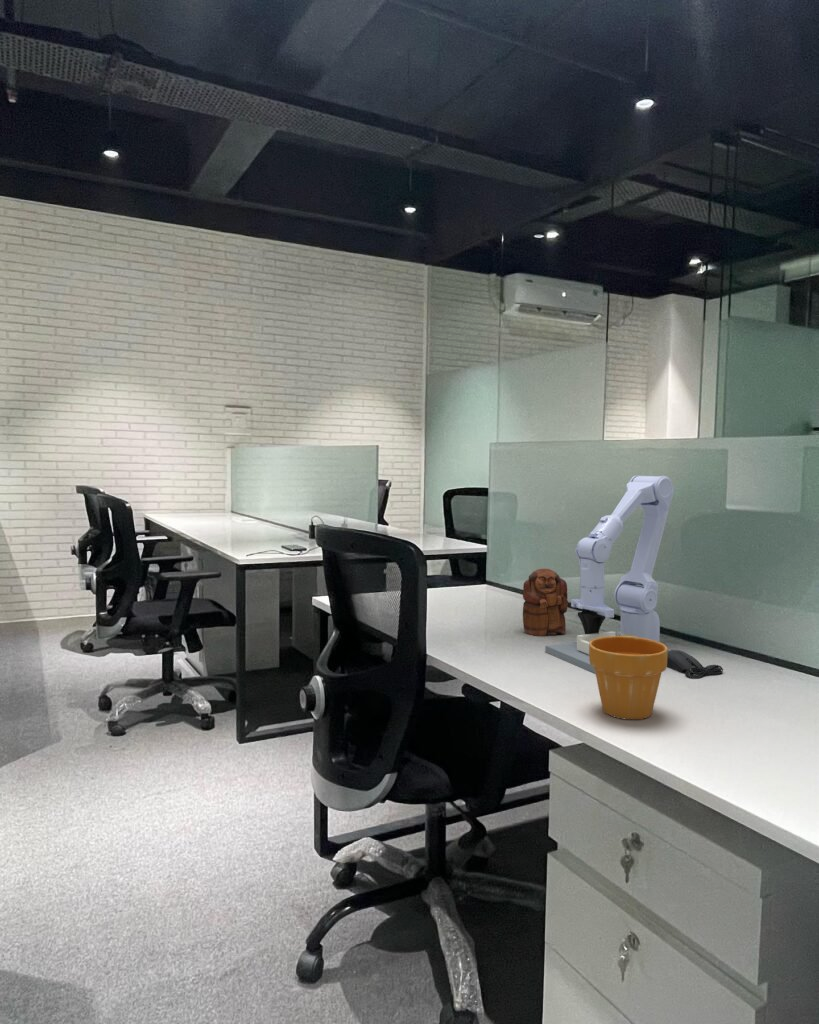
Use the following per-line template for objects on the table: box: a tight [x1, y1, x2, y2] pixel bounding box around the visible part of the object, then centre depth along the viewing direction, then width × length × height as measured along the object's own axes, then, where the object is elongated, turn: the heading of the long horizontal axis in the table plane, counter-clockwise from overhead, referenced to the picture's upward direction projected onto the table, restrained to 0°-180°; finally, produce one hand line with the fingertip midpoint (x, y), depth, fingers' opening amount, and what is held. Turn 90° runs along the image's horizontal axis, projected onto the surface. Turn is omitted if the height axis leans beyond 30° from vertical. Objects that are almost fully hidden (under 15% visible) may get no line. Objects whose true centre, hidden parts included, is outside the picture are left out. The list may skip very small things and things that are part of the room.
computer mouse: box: [667, 649, 724, 680], centre depth 164 cm, size 10×15×4 cm
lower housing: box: [576, 630, 616, 654], centre depth 171 cm, size 11×10×4 cm
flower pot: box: [589, 635, 669, 720], centre depth 135 cm, size 14×14×13 cm
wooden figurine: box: [522, 568, 569, 637], centre depth 197 cm, size 12×6×18 cm, turn 100°
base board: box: [544, 641, 596, 675], centre depth 171 cm, size 16×24×4 cm, turn 23°
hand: (591, 640), depth 177 cm, fingers closed
